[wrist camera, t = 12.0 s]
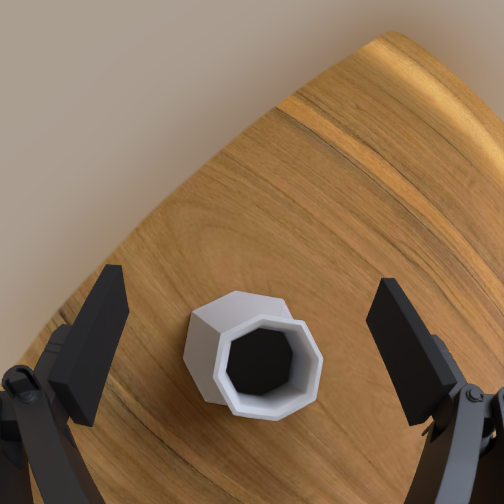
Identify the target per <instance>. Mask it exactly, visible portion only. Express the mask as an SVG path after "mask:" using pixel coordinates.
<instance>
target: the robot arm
mask: <svg viewBox="0 0 504 504" xmlns="http://www.w3.org/2000/svg"><path fill="white" fill-rule="evenodd" d="M128 315H129V307H128V302H127V296H126V291H125V285H124V279H123V272H122V266H121V265H108V264H106V266H105V267H104V269H103V271H102V272H101V274H100V276H99V278H98V279H97V281H96V283H95V285H94V286H93V288H92V290H91V292H90V293H89V295H88V297H87V299H86V301H85V303H84V304H83V306H82V308H81V310H80V312H79V314H78V316H77V318H76V320H75V322H74V323H73V325H72V326H71V325H65V324H62V325H61V326H59V327H58V328H57V329H56V330H55V331H54V332H53V333H52V335H51V337H50V339H49V341H48V344H47V345H46V347H45V349H44V351H43V353H42V355H41V357H40V359H39V361H38V363H37V365H36V367H35V369H34V371H32V369H31V368H29V367H28V366H25V365H16V366H13V367H12V368H10V369H9V370H8V371H7V372H6V373H5V374H4V376H3V378H2V386H3V388H4V389H5V391H0V504H34V503H33V497H32V490H31V483H30V475H29V467H28V461H29V464H30V467H31V469H32V472H33V475H34V478H35V481H36V483H37V486H38V488H39V491H40V493H41V496H42V498H43V501H44V503H45V504H106V503H105V501H104V500H103V498H102V496H101V494H100V492H99V490H98V489H97V487H96V485H95V483H94V481H93V479H92V477H91V475H90V473H89V471H88V469H87V467H86V465H85V463H84V461H83V459H82V456H81V454H80V452H79V450H78V448H77V445H76V443H75V441H74V438H73V436H72V434H71V431H70V429H69V427H68V425H67V421H68V418H69V416H70V417H71V419H72V420H73V422H74V423H76V424H80V425H85V426H89V427H92V426H93V423H94V419H95V415H96V412H97V408H98V405H99V402H100V398H101V395H102V392H103V388H104V385H105V382H106V379H107V375H108V372H109V369H110V366H111V363H112V360H113V357H114V354H115V351H116V348H117V345H118V342H119V340H120V337H121V334H122V331H123V328H124V325H125V323H126V320H127V317H128ZM366 323H367V325H368V327H369V329H370V332H371V334H372V336H373V338H374V340H375V343H376V345H377V347H378V350H379V352H380V354H381V356H382V359H383V361H384V363H385V366H386V368H387V371H388V373H389V375H390V378H391V380H392V383H393V385H394V388H395V390H396V392H397V395H398V397H399V400H400V402H401V405H402V408H403V410H404V413H405V415H406V418H407V421H408V423H409V426H413V425H417V424H421V423H424V422H425V421H426V420H427V419H428V418H429V417H430V416H431V415H432V418H433V420H434V421H433V422H432V423H431V424H430V425H429V426H428V427H427V428H426V429H425V430H424V431H423V433H422V435H421V436H424V435H425V434H426V433H427V432H428V435H427V438H426V442H425V445H424V449H423V452H422V455H421V458H420V461H419V464H418V467H417V470H416V473H415V476H414V479H413V481H412V484H411V487H410V489H409V492H408V494H407V497H406V499H405V502H404V504H504V387H502V388H501V389H500V390H499V391H498V392H497V393H496V394H495V395H494V394H484V393H483V391H482V390H481V389H480V388H479V387H478V386H476V385H474V384H468V383H467V381H466V380H465V378H464V376H463V374H462V372H461V371H460V369H459V367H458V365H457V364H456V362H455V360H454V359H453V357H452V355H451V353H450V352H449V350H448V348H447V347H446V345H445V343H444V342H443V341H442V340H441V339H440V338H439V337H438V336H437V335H431V334H430V333H429V331H428V329H427V328H426V326H425V324H424V323H423V321H422V320H421V318H420V316H419V315H418V313H417V312H416V310H415V308H414V307H413V305H412V304H411V302H410V301H409V299H408V298H407V296H406V295H405V293H404V291H403V290H402V288H401V287H400V285H399V284H398V282H397V281H396V279H395V278H381V281H380V284H379V287H378V289H377V292H376V295H375V298H374V300H373V303H372V305H371V308H370V311H369V313H368V316H367V318H366ZM495 430H496V437H495V438H493V432H494V431H495Z"/></svg>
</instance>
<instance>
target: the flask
mask: <svg viewBox="0 0 504 504" xmlns="http://www.w3.org/2000/svg"><path fill="white" fill-rule="evenodd" d="M183 360H184V362H185V364H186V366H187V368H188V370H189V372H190V374H191V376H192V378H193V380H194V382H195V383H196V385H197V387H198V389H199V391H200V393H201V395H202V396H203V398H204V400H205V402H210V403H216V404H221V405H227V406H229V408H230V410H231V412H232V413H233V415H236V416H242V417H249V418H257V419H265V420H273V421H278V420H280V419H282V418H284V417H286V416H288V415H290V414H292V413H293V412H295V411H297V410H299V409H301V408H303V407H304V406H306V405H308V404H310V403H311V402H313V401H315V400H316V396H317V391H318V386H319V380H320V375H321V369H322V363H323V357H322V355H321V353H320V351H319V349H318V347H317V345H316V343H315V341H314V339H313V337H312V335H311V334H310V332H309V330H308V328H307V326H306V324H305V322H304V321H301V320H295V319H293V317H292V316H291V314H290V312H289V310H288V308H287V306H286V304H285V302H284V300H283V299H280V298H274V297H268V296H263V295H258V294H252V293H247V292H241V291H236V290H235V291H233V292H231V293H229V294H227V295H225V296H223V297H221V298H219V299H217V300H215V301H212V302H210V303H208V304H206V305H204V306H202V307H200V308H198V309H196V310H193V311H192V313H191V318H190V323H189V328H188V333H187V339H186V344H185V349H184V355H183Z"/></svg>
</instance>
